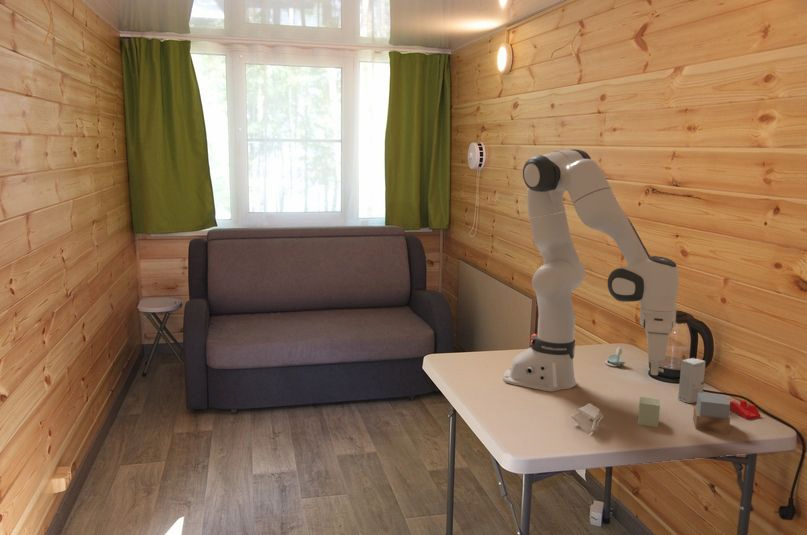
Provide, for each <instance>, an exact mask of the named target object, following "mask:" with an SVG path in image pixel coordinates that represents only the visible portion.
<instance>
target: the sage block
mask: <svg viewBox="0 0 807 535" xmlns="http://www.w3.org/2000/svg"><path fill="white" fill-rule="evenodd" d="M660 403H661V402H660V399H659V398H652V397H643V396H639V403H638V404H639V405H638V415H637V424H638V425H641V426H649V427H655V428H656V427H657V428H658V427H659V420H660V410H661V404H660Z"/></svg>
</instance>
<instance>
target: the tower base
mask: <svg viewBox="0 0 807 535" xmlns="http://www.w3.org/2000/svg"><path fill="white" fill-rule="evenodd" d="M696 405H697V404H696ZM696 405H695V404H694V406H693V414H692V415H693V416H692V420H693V424H694V428H695V430H700V431H706V432H712V433H713V432H715V433H721V434H729V432H730V426H731V420H730V418H729V419H723V418H714V417H706V416H700V415H699V412H698V409H697V407H696Z"/></svg>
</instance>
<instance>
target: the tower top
mask: <svg viewBox="0 0 807 535" xmlns="http://www.w3.org/2000/svg"><path fill="white" fill-rule="evenodd" d="M696 407H697V409H698V412H699V415H700V416H706V417H714V418H723V419H730V412H731V411H730V401H729V400H728V398H727V395H725V394H715V393H707V392H703V393H699V392H698V395H697V402H696Z"/></svg>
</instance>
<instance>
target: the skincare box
mask: <svg viewBox="0 0 807 535" xmlns="http://www.w3.org/2000/svg"><path fill="white" fill-rule="evenodd" d="M706 362H707V361H706V360H702V359H699V358H695V357H691V358H686V359H682V360H681V362H680V363H681V365H680V374H679V377H680V378H679V385H678V395H677V396H678V397H677V400H679V399H680V400H679V401H681V400H682V402H683V401H685V402H684V403H686V402H687V404H689V403H691V404H694V403H697V395H698V392H699V393H704V383H705V374H706V373H705V372H706Z"/></svg>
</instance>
